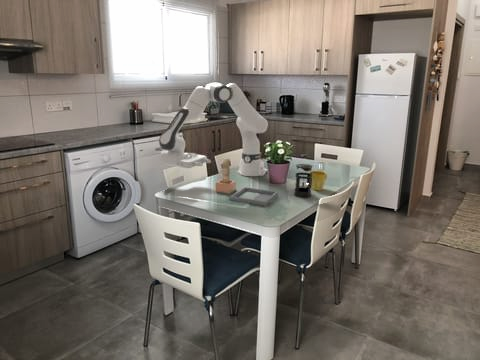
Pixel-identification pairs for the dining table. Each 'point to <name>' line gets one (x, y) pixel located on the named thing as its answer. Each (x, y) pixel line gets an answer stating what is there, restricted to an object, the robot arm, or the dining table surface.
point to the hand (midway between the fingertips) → (206, 163)
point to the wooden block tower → (225, 170)
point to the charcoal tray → (260, 200)
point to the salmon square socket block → (225, 186)
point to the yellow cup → (318, 179)
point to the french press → (300, 189)
